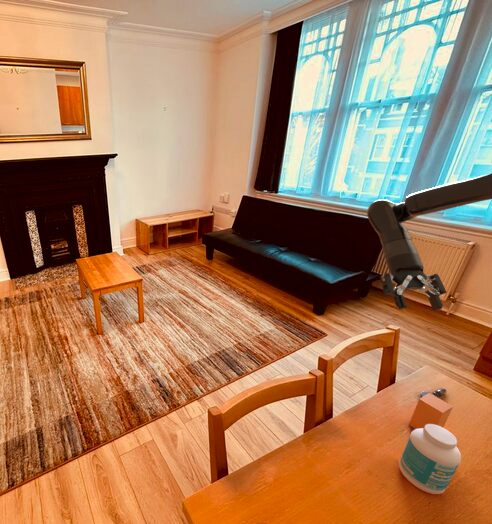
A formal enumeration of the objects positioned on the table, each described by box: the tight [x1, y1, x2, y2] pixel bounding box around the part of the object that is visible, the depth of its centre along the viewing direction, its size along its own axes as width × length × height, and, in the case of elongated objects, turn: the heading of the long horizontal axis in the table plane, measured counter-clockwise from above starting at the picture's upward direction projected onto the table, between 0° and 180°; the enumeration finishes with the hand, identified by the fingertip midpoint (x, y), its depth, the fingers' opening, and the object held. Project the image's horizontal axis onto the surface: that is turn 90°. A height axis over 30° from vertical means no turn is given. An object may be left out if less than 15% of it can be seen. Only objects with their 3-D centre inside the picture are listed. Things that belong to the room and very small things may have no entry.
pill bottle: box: [398, 424, 462, 495], centre depth 58 cm, size 8×7×14 cm
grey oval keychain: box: [419, 387, 448, 399], centre depth 79 cm, size 9×4×1 cm, turn 112°
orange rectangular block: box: [408, 392, 454, 430], centre depth 69 cm, size 4×4×9 cm
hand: (420, 309), depth 76 cm, fingers open, 8 cm apart
